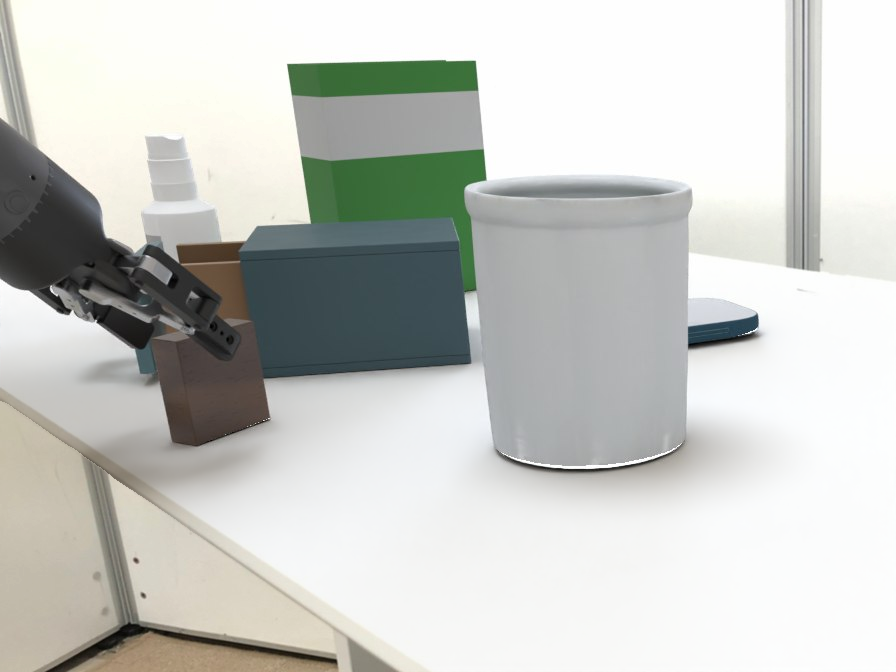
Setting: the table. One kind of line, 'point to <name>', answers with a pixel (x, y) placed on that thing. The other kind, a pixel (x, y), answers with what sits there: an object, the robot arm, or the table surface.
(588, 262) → the utensil holder
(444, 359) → the cabinet
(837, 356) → the table surface
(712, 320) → the external hard drive
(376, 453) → the table surface
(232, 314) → the drawer
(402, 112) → the green cereal box
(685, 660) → the table surface
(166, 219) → the spray bottle
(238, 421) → the walnut board
